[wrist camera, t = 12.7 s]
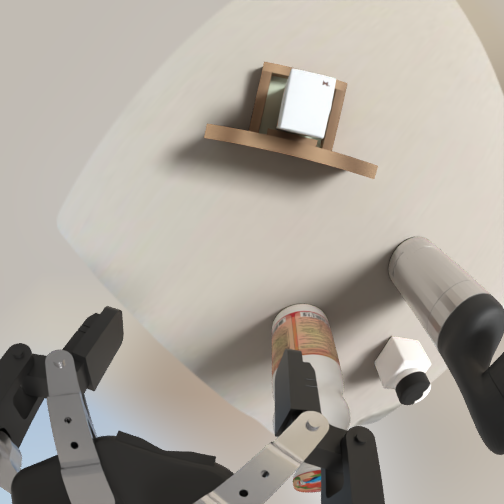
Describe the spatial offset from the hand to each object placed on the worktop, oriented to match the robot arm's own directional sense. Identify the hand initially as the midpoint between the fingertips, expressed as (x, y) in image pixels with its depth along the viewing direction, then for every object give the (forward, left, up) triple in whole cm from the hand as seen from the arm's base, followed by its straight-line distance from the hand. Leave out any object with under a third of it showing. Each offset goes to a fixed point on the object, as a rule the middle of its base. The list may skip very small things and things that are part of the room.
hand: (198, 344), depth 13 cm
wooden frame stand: (-4, -13, -28) cm, 31 cm away
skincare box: (-4, -13, -28) cm, 31 cm away
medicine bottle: (-34, +21, -28) cm, 49 cm away
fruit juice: (-13, +18, -28) cm, 36 cm away
